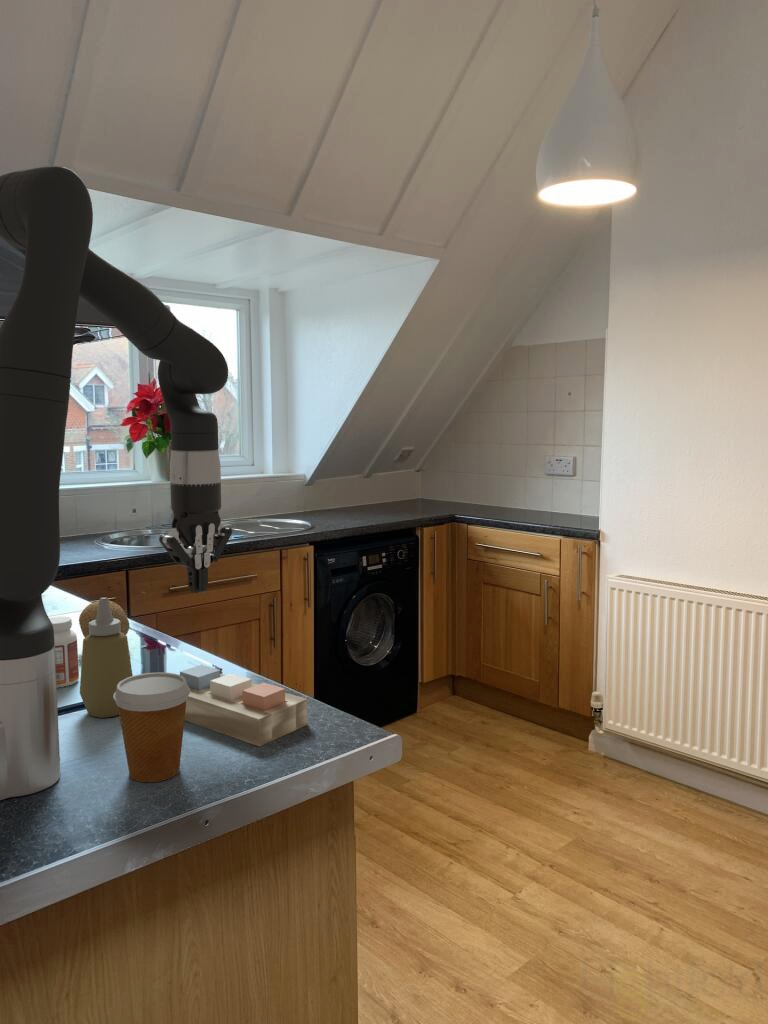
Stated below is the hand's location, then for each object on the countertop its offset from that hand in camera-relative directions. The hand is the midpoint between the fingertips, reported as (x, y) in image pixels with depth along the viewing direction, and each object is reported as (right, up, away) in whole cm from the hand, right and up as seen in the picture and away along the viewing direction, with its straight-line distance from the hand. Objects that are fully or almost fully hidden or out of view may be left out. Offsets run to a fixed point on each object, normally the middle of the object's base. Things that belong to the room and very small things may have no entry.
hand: (198, 591), depth 128 cm
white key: (+6, -17, -2) cm, 18 cm away
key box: (+6, -19, -2) cm, 20 cm away
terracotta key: (+11, -17, -6) cm, 21 cm away
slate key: (0, -16, +2) cm, 16 cm away
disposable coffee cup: (-1, -22, -20) cm, 30 cm away
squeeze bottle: (-14, -19, +1) cm, 24 cm away
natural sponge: (-25, -15, +32) cm, 43 cm away
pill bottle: (-27, -17, +14) cm, 34 cm away
